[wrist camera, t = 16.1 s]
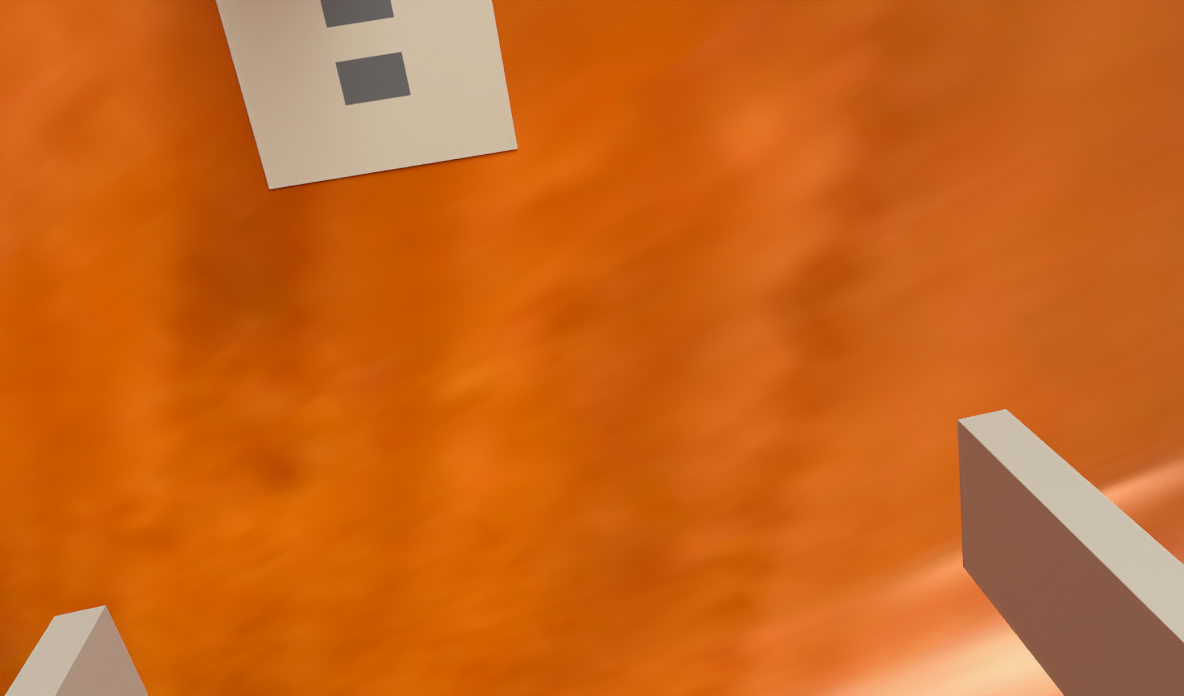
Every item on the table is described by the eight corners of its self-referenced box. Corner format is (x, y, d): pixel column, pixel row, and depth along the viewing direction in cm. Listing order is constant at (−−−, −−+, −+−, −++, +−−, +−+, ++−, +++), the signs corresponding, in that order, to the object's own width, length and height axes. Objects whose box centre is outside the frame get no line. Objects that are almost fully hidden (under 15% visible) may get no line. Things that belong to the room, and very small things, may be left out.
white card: (269, 188, 43) (269, 189, 43) (192, -83, 38) (192, -83, 38) (517, 148, 43) (517, 149, 43) (469, -126, 39) (469, -126, 39)
